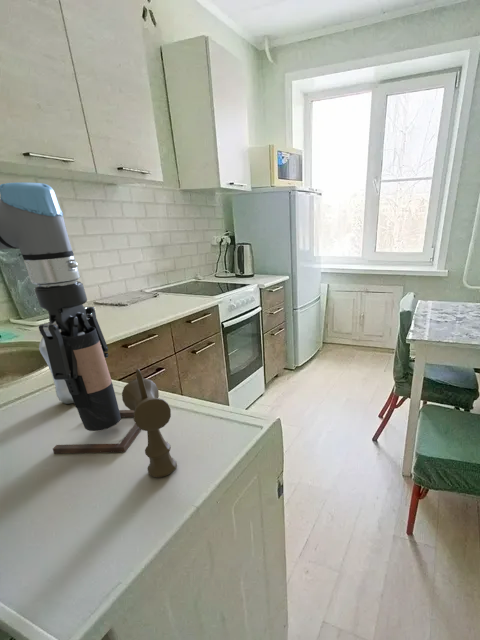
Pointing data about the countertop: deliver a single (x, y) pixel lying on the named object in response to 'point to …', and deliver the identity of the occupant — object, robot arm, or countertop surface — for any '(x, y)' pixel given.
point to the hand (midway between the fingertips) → (94, 396)
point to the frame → (103, 447)
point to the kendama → (150, 422)
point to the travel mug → (94, 381)
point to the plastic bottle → (60, 385)
